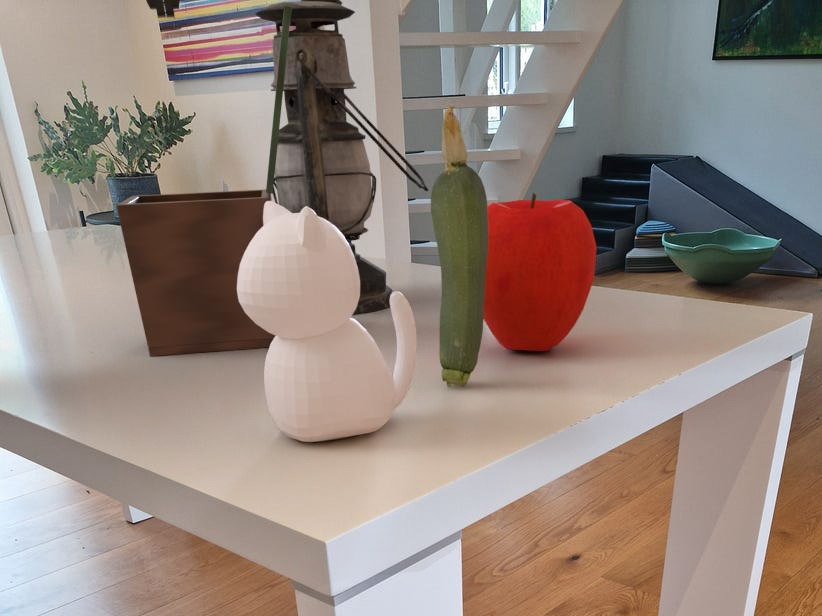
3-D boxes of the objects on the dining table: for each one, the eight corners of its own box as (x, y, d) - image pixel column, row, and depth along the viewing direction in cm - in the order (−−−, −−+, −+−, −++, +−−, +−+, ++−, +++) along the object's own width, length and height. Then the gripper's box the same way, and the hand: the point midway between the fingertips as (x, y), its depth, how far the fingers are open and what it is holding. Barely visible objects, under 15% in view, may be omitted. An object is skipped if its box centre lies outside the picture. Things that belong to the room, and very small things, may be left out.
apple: (477, 370, 77) (472, 201, 70) (459, 340, 86) (453, 190, 79) (606, 361, 78) (614, 195, 71) (574, 333, 88) (578, 185, 81)
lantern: (289, 291, 113) (250, 8, 97) (434, 286, 113) (420, 3, 98) (264, 322, 97) (213, -12, 81) (433, 315, 97) (416, -18, 82)
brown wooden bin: (149, 356, 85) (115, 205, 78) (161, 333, 94) (131, 195, 87) (290, 345, 87) (269, 197, 80) (288, 324, 96) (270, 189, 89)
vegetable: (457, 376, 75) (446, 105, 65) (501, 381, 73) (497, 104, 63) (430, 389, 72) (413, 106, 61) (475, 395, 70) (466, 104, 60)
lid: (284, 4, 73) (291, 7, 73) (283, 16, 82) (289, 18, 82) (265, 192, 80) (272, 194, 80) (266, 184, 88) (272, 185, 89)
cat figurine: (241, 430, 64) (200, 204, 56) (388, 398, 70) (371, 190, 62) (290, 463, 58) (253, 213, 50) (448, 425, 63) (437, 197, 56)
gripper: (204, -238, 71) (240, 20, 80) (31, -247, 68) (90, 21, 78) (205, -272, 65) (245, 12, 74) (16, -283, 62) (81, 13, 71)
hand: (165, 16), depth 76 cm, fingers closed
